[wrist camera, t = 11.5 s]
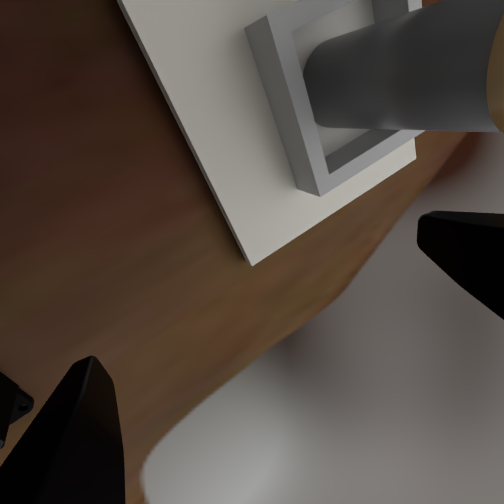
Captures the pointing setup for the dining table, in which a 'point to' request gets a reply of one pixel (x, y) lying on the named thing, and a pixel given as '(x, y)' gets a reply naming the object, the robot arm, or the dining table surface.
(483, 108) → the grey can
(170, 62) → the socket plate
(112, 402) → the robot arm
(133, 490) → the dining table surface
